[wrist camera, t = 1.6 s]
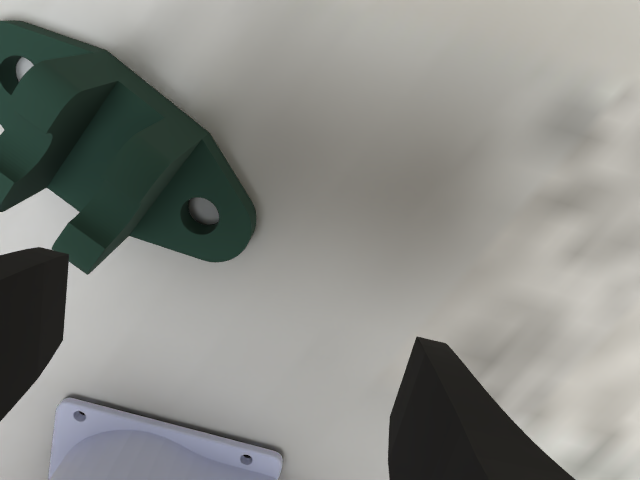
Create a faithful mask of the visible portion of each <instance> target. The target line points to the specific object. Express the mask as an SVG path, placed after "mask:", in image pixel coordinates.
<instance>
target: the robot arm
mask: <svg viewBox="0 0 640 480" xmlns="http://www.w3.org/2000/svg"><path fill="white" fill-rule="evenodd" d="M68 263H69V254H66V253H62V252H57V251H53V250H49V249H45V248H41V247H38V248H31V249H25V250H21V251H16V252H12V253H8V254H4V255H0V421H1V420H2V419H3V418H4V417H5V416H6V414H7V413H8V412H9V411H10V410H11V409H12V408H13V407H14V405H15V404H16V403H17V402H18V401H19V400H20V399H21V397H22V396H23V395H24V394H25V393H26V392H27V391H28V389H29V388H30V387H31V386H32V385H33V384H34V382H35V381H36V380H37V379H38V377H39V376H40V375H41V373H42V372H43V370H44V369H45V367H46V366H47V364H48V363H49V361H50V360H51V358H52V357H53V355H54V353H55V352H56V350H57V349H58V347H59V346H60V344H61V342H62V341H63V331H64V317H65V304H66V290H67V276H68ZM78 411H81V412H83V413H84V414H85V415H82V414H80V413H79V412H78ZM243 455H249V456H251V458H246V457H244V456H243ZM282 464H283V458H282V456H281V455H280V454H279V453H278V452H276V451H273V450H269V449H265V448H262V447H258V446H254V445H250V444H246V443H243V442H239V441H235V440H231V439H227V438H223V437H220V436H216V435H212V434H208V433H204V432H200V431H197V430H193V429H189V428H185V427H181V426H178V425H174V424H170V423H166V422H162V421H158V420H155V419H151V418H147V417H143V416H139V415H135V414H132V413H128V412H124V411H120V410H116V409H113V408H109V407H105V406H101V405H97V404H93V403H90V402H86V401H82V400H78V399H74V398H65V399H63V400H62V401H61V402H60V403H59V405H58V406H57V408H56V415H55V423H54V432H53V440H52V449H51V457H50V466H49V474H48V480H278V479H279V476H280V472H281V469H282ZM388 465H389V477H390V480H575V479H574V478H573V477H572V476H570V475H569V474H568V473H567V472H566V471H565V470H564V469H562V468H561V467H560V466H559V465H558V464H557V463H556V462H555V461H553V460H552V459H551V458H550V457H549V456H548V455H547V454H546V453H544V452H543V451H542V450H541V449H540V448H539V447H538V446H537V445H536V444H535V443H534V442H533V441H532V440H531V439H530V438H529V437H528V436H527V435H526V434H525V433H524V432H523V431H522V430H521V429H520V428H519V427H518V426H517V425H516V424H515V423H514V422H513V421H512V420H511V418H510V417H509V416H508V415H507V414H506V413H505V412H504V411H503V410H502V409H501V407H500V406H499V405H498V404H497V403H496V402H495V401H494V399H493V398H492V397H491V396H490V395H489V394H488V392H487V391H486V390H485V389H484V388H483V387H482V385H481V384H480V383H479V382H478V381H477V379H476V378H475V377H474V376H473V374H472V373H471V372H470V371H469V370H468V368H467V367H466V366H465V365H464V363H463V362H462V361H461V360H460V359H459V357H458V356H457V355H456V354H455V353H454V351H453V350H452V349H451V348H450V347H449V346H448V345H447V344H446V343H442V342H438V341H433V340H429V339H425V338H421V337H416V340H415V343H414V346H413V349H412V352H411V355H410V358H409V361H408V364H407V367H406V370H405V373H404V376H403V379H402V382H401V385H400V388H399V391H398V394H397V397H396V400H395V403H394V406H393V409H392V412H391V415H390V425H389V448H388Z"/></svg>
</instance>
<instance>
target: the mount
mask: <svg viewBox="0 0 640 480" xmlns="http://www.w3.org/2000/svg"><path fill="white" fill-rule="evenodd" d="M21 57H24V58H26V59H28V60H29V61H31V62H32V63H33V64H34V66H33V67H32V68H31V69H30V70H29V71H28V72H27V73H26V74H25V75H24V76H23V77H22V79H21V80H20V82H18V80H17V77H16V64H17V62H18V60H19V59H20V58H21ZM0 124H1V125H2V127H3V128H4V132H3V133H2V134H1V135H0V212H3V211H5V210H7V209H9V208H11V207H13V206H14V205H16V204H18V203H20V202H22V201H23V200H25V199H27V198H29V197H31V196H32V195H34V194H36V193H38V192H40V191H41V190H43V189H45V188H48V189H50V190H51V191H52V192H54V193H55V194H56V195H58V196H59V197H60V198H62V199H63V200H64V201H66V202H67V203H69V204H70V205H71V206H73V207H74V208H75V209H77V210H78V211H79V212H80V213H79V214H78V215H77V216H76V217H75V218H74V219H72V220H71V221H70V222H69V223H68V224H67V226H66V227H65V229H64V230H63V231H62V233H61V234H60V236H59V237H58V238H57V240H56V241H55V243H54V245H53V247H52V250H54V251H57V252H62V253H66V254H69V262H70V263H72V264H73V265H75V266H76V267H77V268H79V269H80V270H82V271H83V272H84V273H86V274H87V275H88V274H89V273H90V272H92V271H93V270H94V269H95V268H96V267H97V266H98V265H99V264H100V263H101V262H102V261H103V260H104V259H105V258H106V257H107V256H108V255H109V254H110V253H111V252H112V251H113V250H115V249H116V248H117V247H118V246H119V245H120V244H121V243H122V242H123V241H124V240H125V239H126V238H127V237H128V236H132V237H135V238H138V239H141V240H144V241H147V242H150V243H153V244H156V245H159V246H162V247H165V248H168V249H171V250H174V251H177V252H180V253H183V254H186V255H189V256H192V257H195V258H198V259H201V260H204V261H208V262H224V261H228V260H231V259H233V258H235V257H236V256H238V255H239V254H240V253H241V252H242V251H243V250H244V249H245V248H246V246H247V244H248V242H249V240H250V238H251V236H252V234H253V232H254V230H255V227H256V211H255V208H254V205H253V203H252V201H251V199H250V198H249V196H248V194H247V193H246V191H245V190H244V188H243V186H242V185H241V183H240V182H239V180H238V178H237V177H236V175H235V173H234V172H233V170H232V169H231V167H230V165H229V164H228V162H227V161H226V159H225V157H224V156H223V154H222V152H221V151H220V149H219V148H218V146H217V144H216V143H215V141H214V140H213V138H212V136H211V135H210V133H209V132H208V131H206V130H205V129H204V128H203V127H201V126H200V125H199V124H198V123H196V122H195V121H194V120H193V119H191V118H190V117H189V116H188V115H186V114H185V113H184V112H183V111H181V110H180V109H179V108H178V107H176V106H175V105H174V104H173V103H172V102H170V101H169V100H168V99H167V98H165V97H164V96H163V95H162V94H160V93H159V92H158V91H157V90H155V89H154V88H153V87H152V86H150V85H149V84H148V83H147V82H145V81H144V80H143V79H142V78H140V77H139V76H138V75H137V74H135V73H134V72H133V71H132V70H130V69H129V68H128V67H127V66H125V65H124V64H123V63H122V62H120V61H119V60H118V59H117V58H115V57H114V56H113V55H112V54H111V53H109V52H108V51H107V50H104V49H101V48H98V47H95V46H92V45H89V44H87V43H84V42H81V41H78V40H75V39H72V38H69V37H66V36H64V35H61V34H58V33H55V32H52V31H49V30H46V29H43V28H41V27H38V26H35V25H32V24H29V23H26V22H22V21H0ZM195 197H201V198H205V199H207V200H209V201H211V202H212V203H213V204H214V205H215V206H216V208H217V210H218V213H219V222H218V223H216V224H214V225H204V224H201V223H199V222H197V221H196V220H195V219H194V218H193V217H192V216H191V214H190V212H189V208H188V203H189V199H191V198H195Z"/></svg>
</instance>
